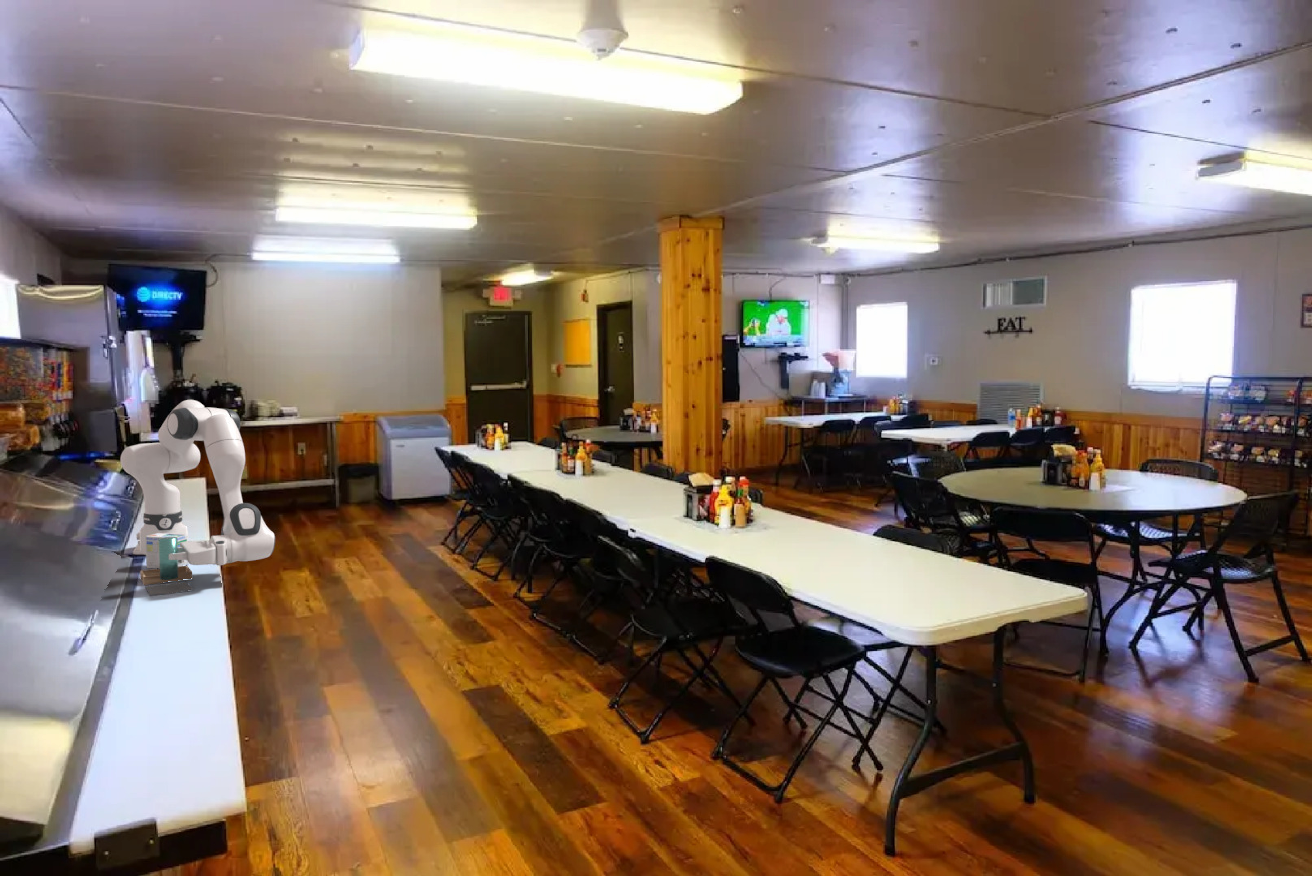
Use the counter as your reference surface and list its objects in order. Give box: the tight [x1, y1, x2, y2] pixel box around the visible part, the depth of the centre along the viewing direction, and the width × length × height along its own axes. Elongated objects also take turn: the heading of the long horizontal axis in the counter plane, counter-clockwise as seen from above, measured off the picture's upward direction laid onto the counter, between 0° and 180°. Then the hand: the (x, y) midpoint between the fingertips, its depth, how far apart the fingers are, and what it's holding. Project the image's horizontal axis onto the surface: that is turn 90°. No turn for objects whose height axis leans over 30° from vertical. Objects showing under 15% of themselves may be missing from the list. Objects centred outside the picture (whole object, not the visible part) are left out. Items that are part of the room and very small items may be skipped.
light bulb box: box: [145, 533, 189, 569], centre depth 284 cm, size 11×7×11 cm, turn 84°
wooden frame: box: [139, 565, 193, 586], centre depth 268 cm, size 10×13×2 cm
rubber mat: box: [144, 582, 193, 597], centre depth 256 cm, size 11×11×1 cm
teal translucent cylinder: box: [159, 537, 178, 580], centre depth 256 cm, size 5×5×12 cm
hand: (166, 554), depth 255 cm, fingers closed on teal translucent cylinder, 5 cm apart
